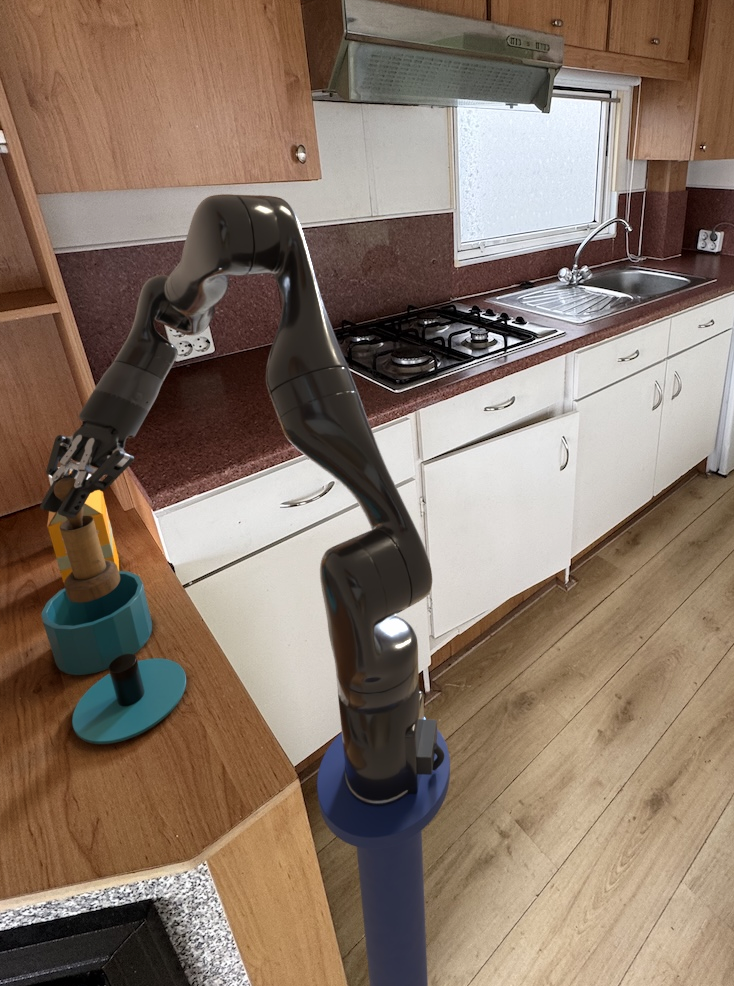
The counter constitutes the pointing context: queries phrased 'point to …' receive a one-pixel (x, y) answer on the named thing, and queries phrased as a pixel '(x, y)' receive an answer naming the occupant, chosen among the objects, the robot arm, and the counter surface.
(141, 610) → the pot
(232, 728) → the counter surface
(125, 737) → the lid
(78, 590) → the mortar and pestle
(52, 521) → the orange juice
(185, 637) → the counter surface
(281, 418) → the robot arm
